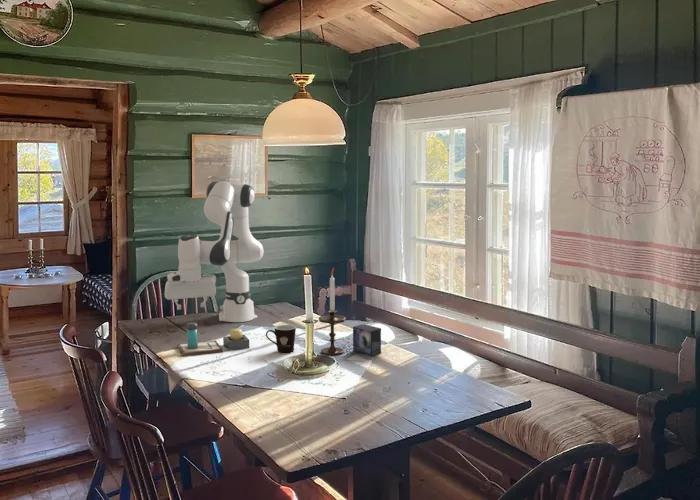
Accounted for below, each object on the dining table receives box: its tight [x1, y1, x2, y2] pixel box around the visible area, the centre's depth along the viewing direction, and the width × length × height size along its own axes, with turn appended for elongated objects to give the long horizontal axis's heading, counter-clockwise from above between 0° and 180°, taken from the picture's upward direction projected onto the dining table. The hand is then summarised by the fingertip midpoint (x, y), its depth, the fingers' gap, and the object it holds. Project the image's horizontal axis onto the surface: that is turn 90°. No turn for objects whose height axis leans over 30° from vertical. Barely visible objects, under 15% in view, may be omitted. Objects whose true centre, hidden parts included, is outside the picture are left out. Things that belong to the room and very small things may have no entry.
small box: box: [352, 323, 382, 357], centre depth 273 cm, size 11×6×10 cm, turn 44°
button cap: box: [229, 328, 243, 341], centre depth 282 cm, size 5×5×4 cm
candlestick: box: [318, 267, 347, 357], centre depth 271 cm, size 11×11×35 cm
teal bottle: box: [186, 322, 199, 349], centre depth 275 cm, size 4×4×10 cm
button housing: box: [222, 334, 250, 351], centre depth 283 cm, size 9×9×4 cm
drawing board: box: [176, 339, 224, 357], centre depth 278 cm, size 15×16×1 cm
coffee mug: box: [265, 324, 297, 355], centre depth 275 cm, size 12×9×10 cm
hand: (191, 308), depth 274 cm, fingers open, 8 cm apart
